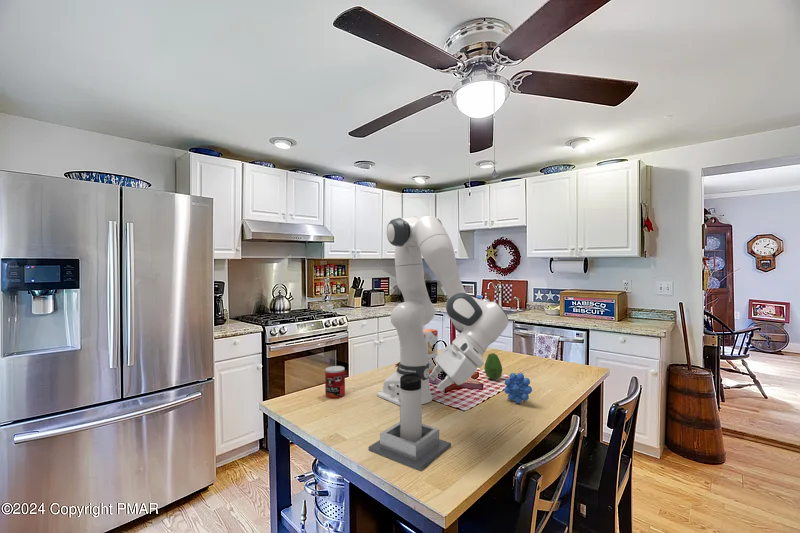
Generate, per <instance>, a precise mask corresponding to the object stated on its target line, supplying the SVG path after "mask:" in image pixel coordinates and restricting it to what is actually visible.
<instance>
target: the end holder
mask: <svg viewBox="0 0 800 533" xmlns="http://www.w3.org/2000/svg"><path fill="white" fill-rule="evenodd" d="M451 446H452V443H451V442H449V441H447V440H443V439H440V428H437V427H433V426H431V425H427V424H424V423H422V438H421V439H419V440H418V441H417V442H415V443H413V442H411V441H408V440H405V439H402V438H400V421H398V422H397V423H395V424H392V426H389V427H388V428H386V429H385V430H383V431H381V432H379V440H377V441H375V442H374V443H373V444H371V445H369V446H368V451H370V452H372V453H374V454H377V455H379V456H382V457H384V458H388V460H393V461H395V462H397V463H399V464H403V465H404V466H407V467H409V468H412V469H414V470H416V471H417V470H418V471H419V472H422V471H423V470H424V469H425V468H427V467H428V466H429V465H430V464H431V463H433V462H434V461H435V460H436V459H437V458H439V457H440V456H441V455H442V454H444V453H445V452H446V451H447V450H448V449H449V448H450V447H451Z"/></svg>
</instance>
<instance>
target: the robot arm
mask: <svg viewBox="0 0 800 533" xmlns="http://www.w3.org/2000/svg"><path fill="white" fill-rule="evenodd" d="M386 227H387V228H386V237H387V240H388V242H389V243H390V244H391V246H394V267H395V268H394V269H395V278H396V286H397V288H398V290H400V292H401V294H402V297H403V300H404V301H402V302H400V303H399V304H397V305H396V306H395V307H394V308H393V309H392V310H391V312H390V322H391V324H392V326H393V327H394V328H395V329H396V333H397V336H398V341H399V354H400V356H399V362H397V363H395V364H394V368H396V371H394V372H393V373H392V374H390V375H389V376H387V378H385V379H384V382H383V386H382V388H381V389H380V390H378V392H377V394H376V396H377V397H379V398H381V399H384V400H386V401H388V402H390V403H393V404H396V405H398V406H400V378H401V376H403V375H406V374H411V373H418V375H420V376H421V394H422V405H425V404H428V403H430V402H431V401H432V400H433V396H432V393H431V387H430V379H431V381H436V380H437V378H438V375H439V374H440V373H442V372H444V373H445V374H446V376H445V377H444V379H443V380H442V381H439V382H438V384H436V389H437V390H439V391H440V392H443V391H444V390H445V389H446V388H448V387H449V386H451V385H452V384H453V383H455V384H456V385H457V386H461V385H463V384H464V383H465V382H467V381H468V380H469V378H471V377H472V375H474V374H475V372H476V371H477V369H478V368H479V369H480V368H481V367H482V366H483V365H485V360H484V357H483V355H484V354H485V353H486V351H487V349H488V347H489V346H490V345H492V343H494V342H496V341H497V339H498V338H500V336H501V334H502V333H503V332H504V331H505V329H506V328H507V327H508V324H509V317H508V313H506V311H505V310H504V308H503V307H502V306H501V305H500V304H499V303H497V302H495V301H487V300H483V299H482V300H481V299H479V298H478V297H477V298H476V297H474V296H471V294H468V293H467V292H466V290H465V287H464V285H463V283H462V280H461V278H460V273H459V269H458V263H457V258H456V255H455V254H456V253H455V250H454V246H453V243H452V240H451V238H450V236H449V234H448V232H447V231H446V229H445V227H444V226H443V224H442V221H441V220H440V219H439V218H437V217H436V216H434V215H425V216H410V217H398V218H394V219H391V220H390V221H389V222H388V224H387V226H386ZM423 260H424V261H425V263H426V265H427V266H428V267H429V269H430V270H431V271H432V272H433V274H434V275H435V276H436V278H437V279H438V280H439V282H440V283H441V285H442V287H443V288H444V291H445V293H446V296H447V298H448V300H447V303H446V307H445V310H446V313H447V316H448V317H449V319H450V321H451V323H452V324H453V327H454V329H455V330H456V331H457V332H458V335H457V336H456V337H455V339H453V341H452V342H451V344H448V345H447V346H445V347H444V348H443V349H442V350H441V351H440V352H439V353H437V356H436V358H435V361H436V363H437V365H436V366H435V367H434V369H433V371H432V373H430V374H429V362H428V343H427V341H426V340H425V337H424V333H423V330H424V329H423V328H424V327H423V326H426V325H427V324H429V323H430V322H431V321H433V319H434V317H435V315H436V308H435V305H434V304H433V303H432V301H431V298H430V295H429V292H428V290H427V286H426V280H425V272H424V263H423V262H424V261H423Z"/></svg>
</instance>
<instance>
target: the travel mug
mask: <svg viewBox="0 0 800 533" xmlns="http://www.w3.org/2000/svg"><path fill="white" fill-rule="evenodd" d="M422 405H423V404H422V394H421V376H420V375H418V373H411V374H406V375H403V376H401V378H400V405H399V422H400V438H402V439H405V440H408V441H411V442H413V443H415V442H417V441H418V440H419V439H421V438H422V424H423V422H422V421H423V420H422V419H423V418H422V417H423V416H422V415H423V413H422V410H423V408H422V407H423V406H422Z"/></svg>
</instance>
